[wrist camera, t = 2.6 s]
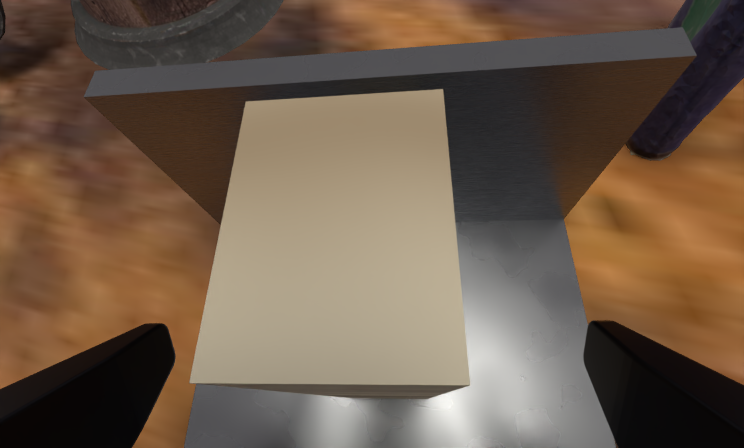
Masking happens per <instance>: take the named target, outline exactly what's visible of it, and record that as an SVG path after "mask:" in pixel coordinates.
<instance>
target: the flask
mask: <svg viewBox="0 0 744 448" xmlns="http://www.w3.org/2000/svg"><path fill="white" fill-rule="evenodd" d="M681 27H683V29H684V31H685V33H686V35H687V37H688V39H689V41H690V43H691V45H692V47H693V49H694V51H695V53H696V55H697V56H696V57H695V59H694V60H693V61H692V62H691V64H690V65H689V66H688V67H687V68H686V70H685V71H684V72H683V73H682V75H681V76H680V77H679V78H678V79H677V81H676V82H675V83H674V84H673V86H672V87H671V88H670V89H669V91H668V92H667V93H666V94H665V95H664V97H663V98H662V99H661V100H660V102H659V103H658V104H657V105H656V106H655V108H654V109H653V110H652V111H651V113H650V114H649V115H648V116H647V117H646V119H645V120H644V121H643V122H642V124H641V125H640V126H639V127H638V129H637V130H636V131H635V132H634V133H633V135H632V136H631V137H630V138H629V140H628V141H627V142H626V145H627V147H628V148H629V149H630V152H631V155H637V156H640V157H642V158H645V159H648V160H663V159H664V158H666V157H668V156H670V155H671V153H672V152H673V151H674V150H675V149H677V148H678V147H679V146H680V144H681V143H682V141H683V140H684V139H685V138H686V137H687V136H688V135H689V134H690V133H691V132H692V130H693V129H694V128H695V127H696V126H697V125H698V124H699V123H700V122H701V120H702V119H703V118H704V117H705V116H706V115H707V114H709V113H710V112H711V111H712V110H713V109H714V108H715V107H716V106H717V105H718V104H719V103H720V101H721V100H722V99H723V98H724V97H725V96H726V95H727V94H728V93H729V92H730V91H731V90H732V89H733V88H734V87H735V86H736V85H737V84H738V83H739V82H740V81H741V80H742V79H743V78H744V0H686V1H685V2H684V4H683V5H682V7H681V8H680V10H679V11H678V13H677V14H676V16H675V17H674V18H673V20H672V21H671V23H670V24H669V26H668V28H681Z"/></svg>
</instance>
